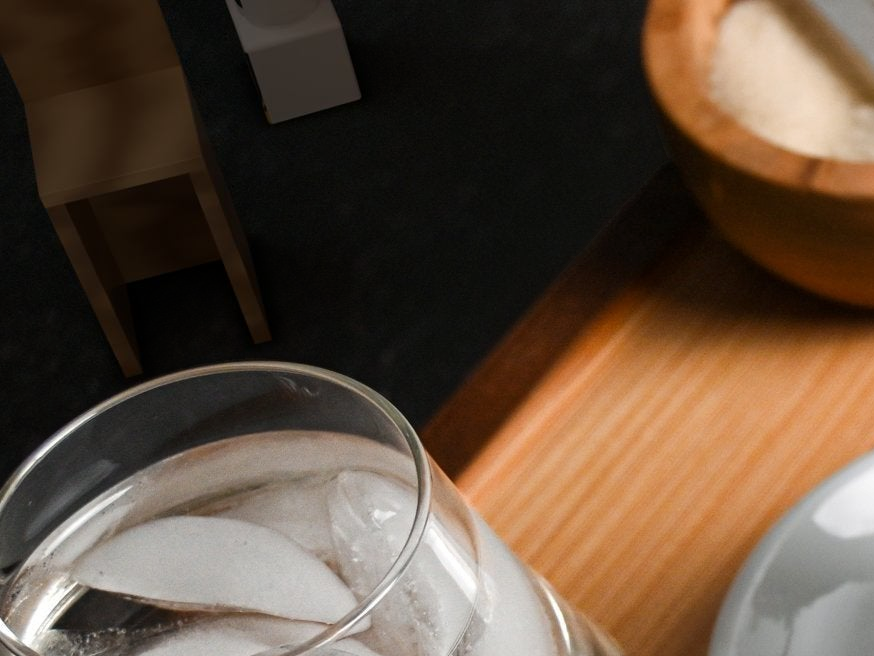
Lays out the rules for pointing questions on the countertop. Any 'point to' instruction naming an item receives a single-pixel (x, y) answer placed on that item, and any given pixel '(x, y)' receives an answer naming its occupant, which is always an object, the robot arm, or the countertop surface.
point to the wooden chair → (122, 155)
